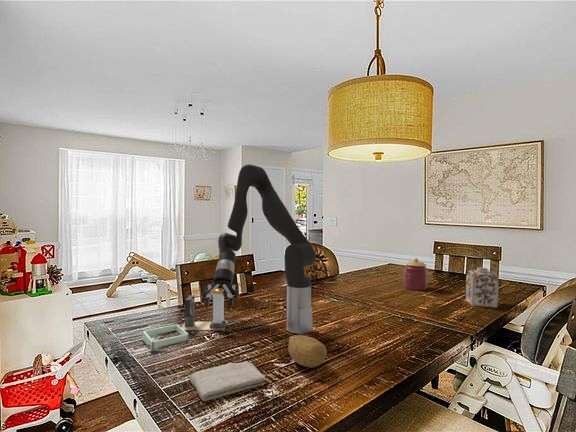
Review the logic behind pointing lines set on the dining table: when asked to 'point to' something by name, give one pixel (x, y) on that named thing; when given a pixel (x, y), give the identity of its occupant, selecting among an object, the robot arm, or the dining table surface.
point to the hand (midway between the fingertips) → (218, 308)
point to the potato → (307, 351)
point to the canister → (415, 275)
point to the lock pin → (218, 306)
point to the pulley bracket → (190, 318)
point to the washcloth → (226, 380)
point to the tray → (156, 345)
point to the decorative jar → (482, 288)
